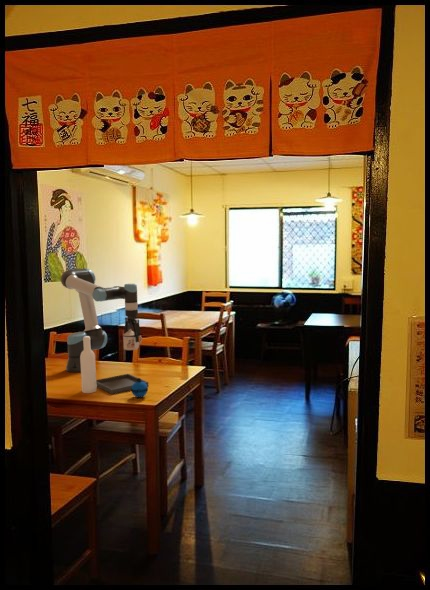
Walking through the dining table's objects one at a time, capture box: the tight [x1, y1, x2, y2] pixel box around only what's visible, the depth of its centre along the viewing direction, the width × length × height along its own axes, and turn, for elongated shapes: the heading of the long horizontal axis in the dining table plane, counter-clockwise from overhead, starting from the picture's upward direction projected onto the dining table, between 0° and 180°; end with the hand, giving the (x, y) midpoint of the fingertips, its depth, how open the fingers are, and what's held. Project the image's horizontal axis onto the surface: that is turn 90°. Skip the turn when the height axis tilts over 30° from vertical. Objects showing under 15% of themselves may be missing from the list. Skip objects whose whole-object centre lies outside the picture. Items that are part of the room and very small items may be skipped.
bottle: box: [80, 336, 98, 394], centre depth 270 cm, size 8×8×30 cm
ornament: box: [130, 377, 149, 398], centre depth 259 cm, size 9×9×10 cm
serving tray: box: [96, 373, 149, 395], centre depth 281 cm, size 24×22×2 cm
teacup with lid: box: [122, 329, 143, 351], centre depth 304 cm, size 12×9×12 cm
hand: (133, 345), depth 304 cm, fingers closed on teacup with lid, 9 cm apart
